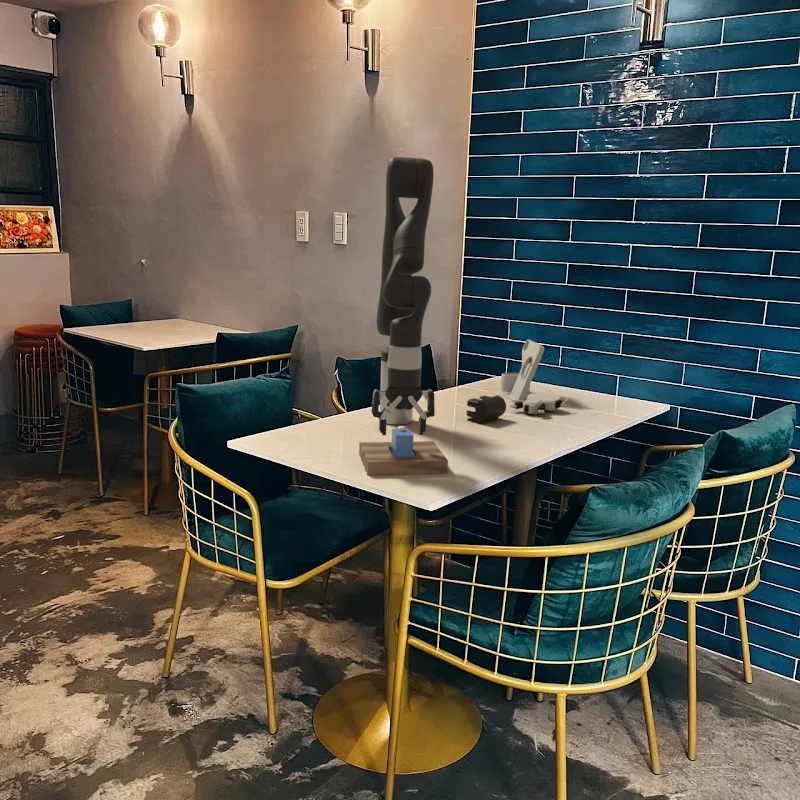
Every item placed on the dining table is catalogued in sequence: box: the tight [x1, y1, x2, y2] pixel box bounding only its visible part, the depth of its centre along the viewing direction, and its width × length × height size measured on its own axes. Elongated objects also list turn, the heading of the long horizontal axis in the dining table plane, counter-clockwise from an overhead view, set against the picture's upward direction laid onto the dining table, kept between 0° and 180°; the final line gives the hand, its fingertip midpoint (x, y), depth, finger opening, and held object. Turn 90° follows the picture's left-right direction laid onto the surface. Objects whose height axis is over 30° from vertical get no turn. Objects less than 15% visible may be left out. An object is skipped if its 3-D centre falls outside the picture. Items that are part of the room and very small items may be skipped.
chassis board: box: [358, 440, 449, 476], centre depth 184 cm, size 16×18×3 cm
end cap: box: [466, 395, 507, 424], centre depth 227 cm, size 10×7×7 cm
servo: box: [390, 425, 415, 457], centre depth 184 cm, size 10×4×8 cm, turn 9°
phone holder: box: [499, 339, 545, 403], centre depth 259 cm, size 17×10×18 cm, turn 7°
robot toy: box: [509, 392, 568, 416], centre depth 240 cm, size 12×4×15 cm
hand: (402, 434), depth 183 cm, fingers open, 8 cm apart
